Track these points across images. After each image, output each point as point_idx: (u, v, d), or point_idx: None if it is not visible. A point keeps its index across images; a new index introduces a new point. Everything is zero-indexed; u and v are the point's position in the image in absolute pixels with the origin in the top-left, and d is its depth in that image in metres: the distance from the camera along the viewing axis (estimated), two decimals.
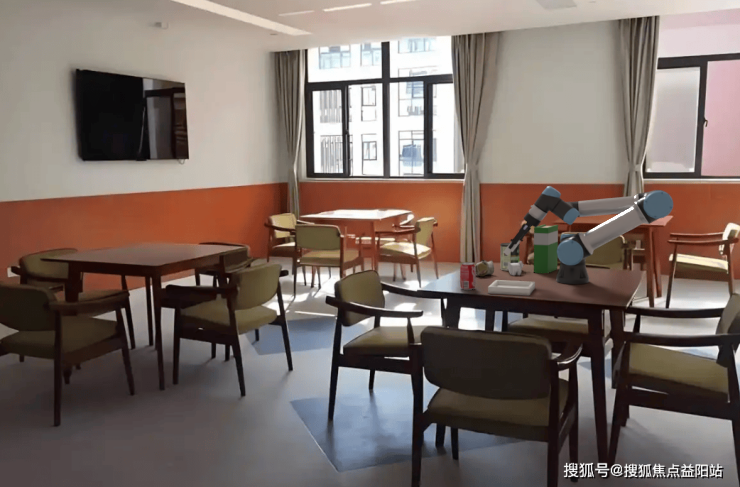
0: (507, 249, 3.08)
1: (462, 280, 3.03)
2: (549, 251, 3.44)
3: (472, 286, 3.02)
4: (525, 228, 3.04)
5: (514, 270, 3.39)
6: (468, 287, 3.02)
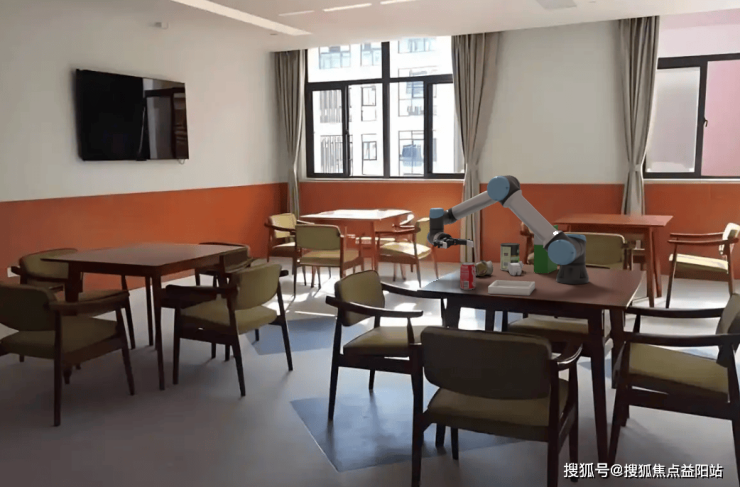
0: (443, 246, 3.13)
1: (462, 280, 3.03)
2: None
3: (472, 286, 3.02)
4: None
5: (514, 270, 3.39)
6: (468, 287, 3.02)
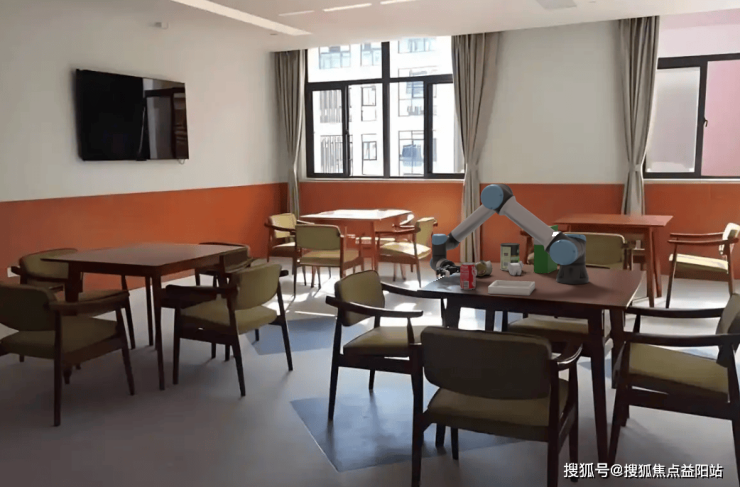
0: (446, 274, 3.10)
1: (462, 280, 3.03)
2: None
3: (472, 286, 3.02)
4: None
5: (514, 270, 3.39)
6: (468, 287, 3.02)
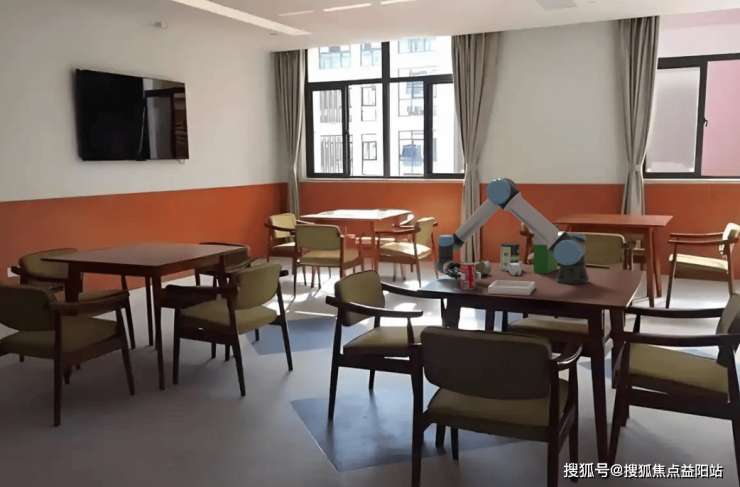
0: (461, 277, 3.01)
1: (462, 280, 3.03)
2: (549, 251, 3.44)
3: (472, 286, 3.02)
4: (446, 271, 3.13)
5: (514, 270, 3.39)
6: (468, 287, 3.02)
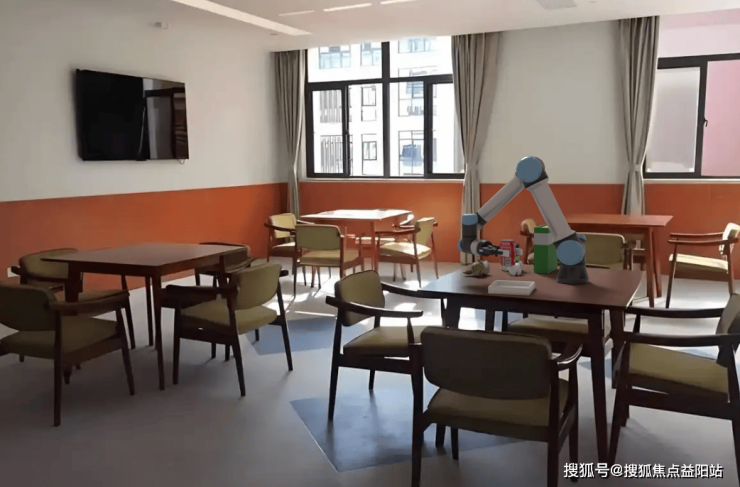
0: (504, 254, 2.93)
1: (504, 257, 2.95)
2: (549, 251, 3.44)
3: (514, 263, 2.95)
4: (481, 249, 3.03)
5: (514, 270, 3.39)
6: (510, 264, 2.95)
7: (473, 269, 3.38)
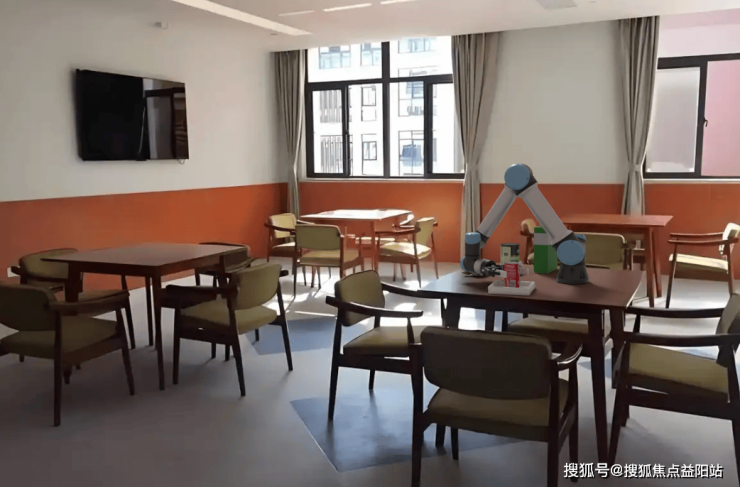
0: (501, 275, 2.93)
1: (508, 280, 2.95)
2: (549, 251, 3.44)
3: (518, 285, 2.96)
4: (483, 269, 3.04)
5: None
6: (515, 286, 2.95)
7: None
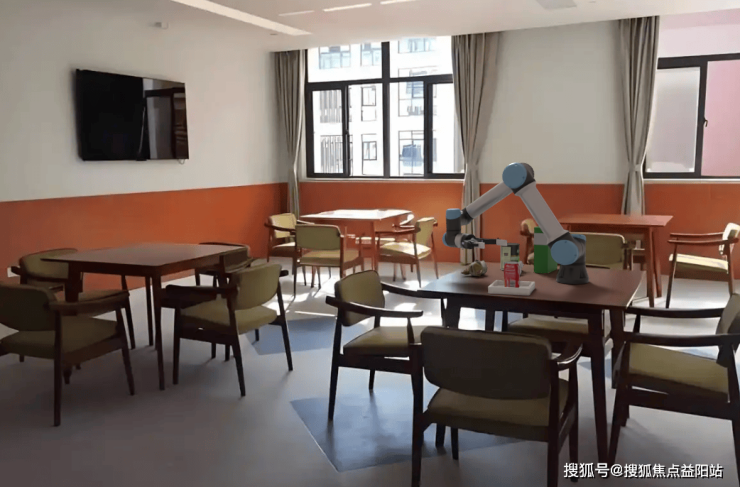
0: (480, 246, 3.04)
1: (508, 280, 2.95)
2: (549, 251, 3.44)
3: (518, 285, 2.96)
4: (462, 242, 3.15)
5: None
6: (514, 286, 2.95)
7: (471, 269, 3.38)
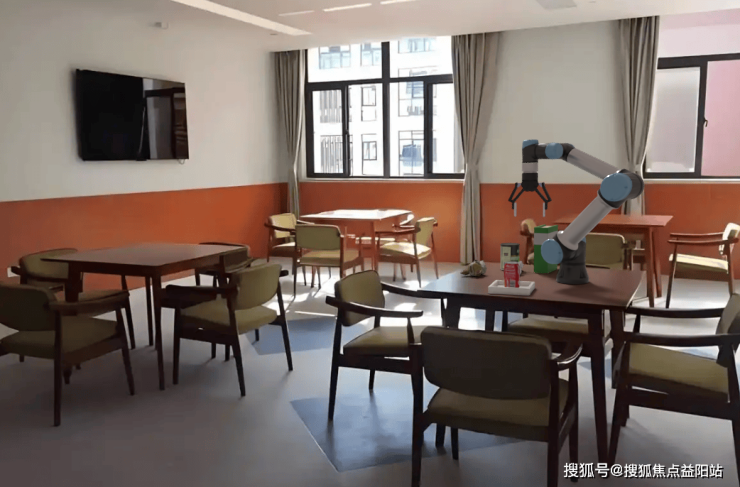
0: None
1: (508, 280, 2.95)
2: None
3: (518, 285, 2.96)
4: (515, 185, 3.18)
5: None
6: (514, 286, 2.95)
7: (470, 269, 3.37)
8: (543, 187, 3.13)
